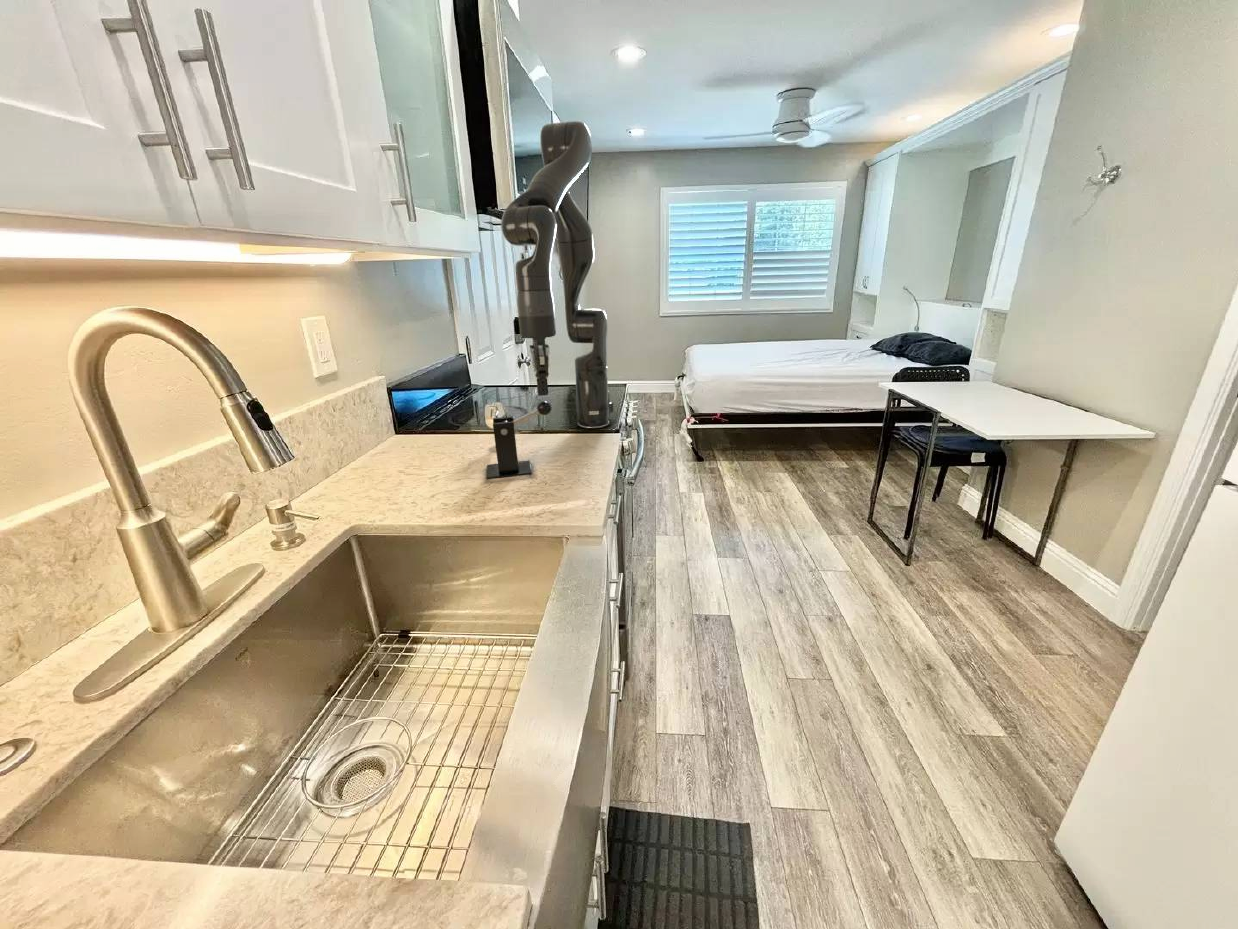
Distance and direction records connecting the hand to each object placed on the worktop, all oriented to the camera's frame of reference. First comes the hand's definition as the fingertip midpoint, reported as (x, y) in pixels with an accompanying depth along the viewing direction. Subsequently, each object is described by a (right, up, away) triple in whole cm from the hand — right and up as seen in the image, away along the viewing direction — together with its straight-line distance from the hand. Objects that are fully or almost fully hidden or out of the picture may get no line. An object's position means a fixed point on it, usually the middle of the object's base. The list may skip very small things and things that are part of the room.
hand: (543, 394), depth 109 cm
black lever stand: (-9, -18, +5) cm, 20 cm away
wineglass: (-15, -12, +20) cm, 28 cm away
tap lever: (-4, -6, +2) cm, 8 cm away
